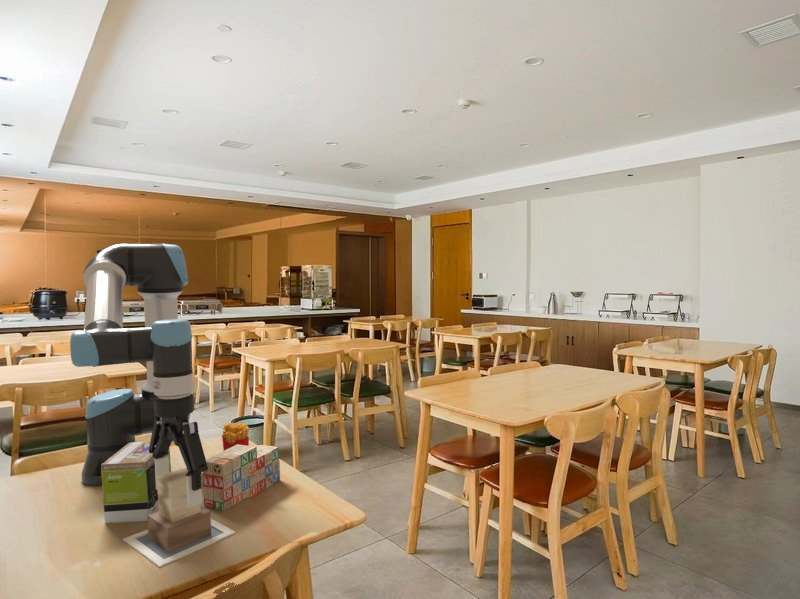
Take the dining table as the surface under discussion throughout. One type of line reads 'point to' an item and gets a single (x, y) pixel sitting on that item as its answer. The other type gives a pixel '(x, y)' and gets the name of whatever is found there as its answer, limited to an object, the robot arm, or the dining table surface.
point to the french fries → (235, 435)
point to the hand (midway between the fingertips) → (178, 495)
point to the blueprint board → (164, 558)
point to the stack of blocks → (239, 474)
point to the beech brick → (174, 496)
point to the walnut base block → (178, 530)
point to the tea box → (130, 484)
